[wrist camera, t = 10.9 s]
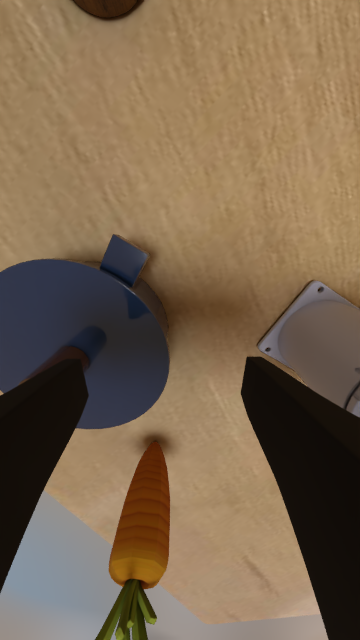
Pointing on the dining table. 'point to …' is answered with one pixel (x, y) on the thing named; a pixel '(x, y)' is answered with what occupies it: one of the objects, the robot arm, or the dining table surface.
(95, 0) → the mortar and pestle
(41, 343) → the lid
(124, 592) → the carrot
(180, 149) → the dining table surface
